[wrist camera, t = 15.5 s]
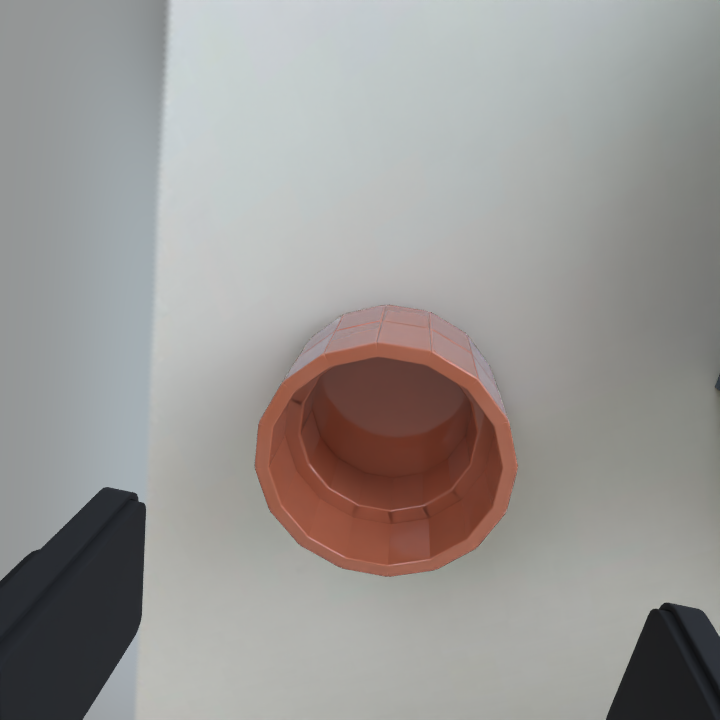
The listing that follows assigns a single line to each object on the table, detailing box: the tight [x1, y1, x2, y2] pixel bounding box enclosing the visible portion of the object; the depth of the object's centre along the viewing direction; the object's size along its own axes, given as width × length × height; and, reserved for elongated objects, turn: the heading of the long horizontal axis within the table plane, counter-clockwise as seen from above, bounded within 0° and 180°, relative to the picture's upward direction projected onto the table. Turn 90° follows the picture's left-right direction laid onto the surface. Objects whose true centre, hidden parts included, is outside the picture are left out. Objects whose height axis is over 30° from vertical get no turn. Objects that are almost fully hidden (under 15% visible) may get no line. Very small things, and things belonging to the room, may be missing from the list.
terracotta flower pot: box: [255, 305, 518, 577], centre depth 17 cm, size 7×7×4 cm
